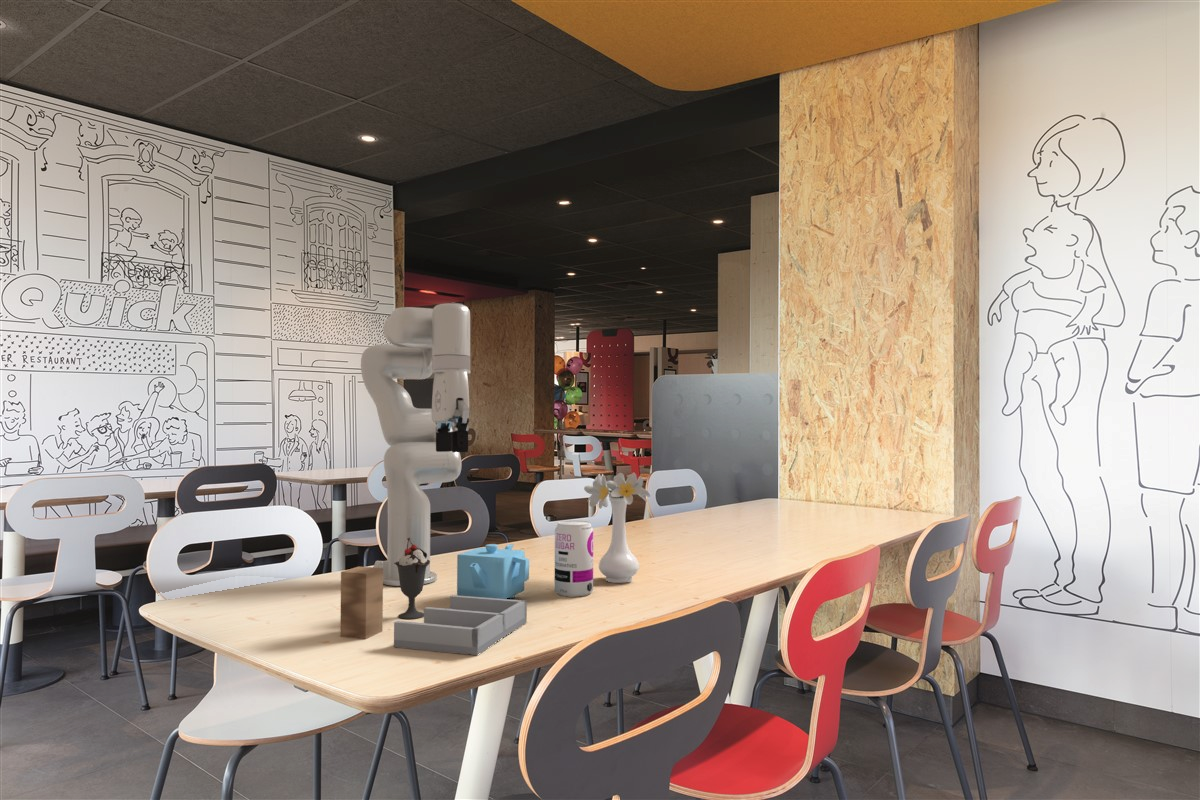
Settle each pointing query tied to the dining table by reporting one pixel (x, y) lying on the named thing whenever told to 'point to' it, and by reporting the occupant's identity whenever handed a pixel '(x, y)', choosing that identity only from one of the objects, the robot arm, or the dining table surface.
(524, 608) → the grey divided tray
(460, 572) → the teapot
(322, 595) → the dining table surface
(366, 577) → the walnut block
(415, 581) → the sundae
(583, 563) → the soda can
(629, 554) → the flower vase
